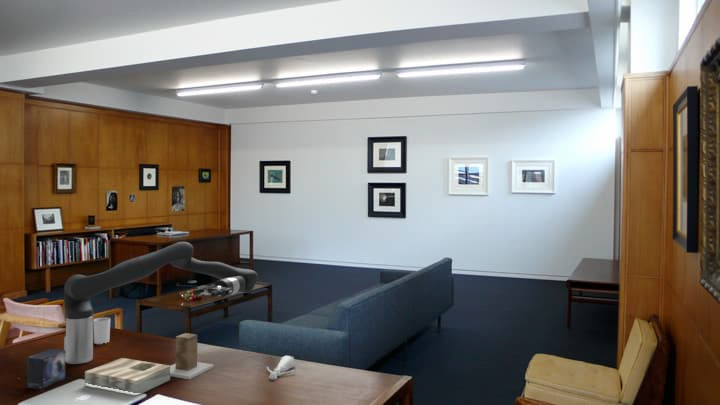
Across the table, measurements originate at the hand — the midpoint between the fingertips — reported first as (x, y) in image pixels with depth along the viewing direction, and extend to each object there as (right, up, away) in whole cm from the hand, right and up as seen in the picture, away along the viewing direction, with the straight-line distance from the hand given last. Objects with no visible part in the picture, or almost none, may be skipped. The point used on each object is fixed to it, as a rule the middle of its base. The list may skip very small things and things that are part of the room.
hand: (202, 293), depth 206 cm
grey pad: (-2, -26, -13) cm, 29 cm away
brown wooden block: (-2, -25, -13) cm, 28 cm away
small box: (-45, -26, -28) cm, 59 cm away
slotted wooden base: (-18, -26, -26) cm, 41 cm away
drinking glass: (-50, -25, +21) cm, 60 cm away
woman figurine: (+33, -27, -13) cm, 45 cm away
